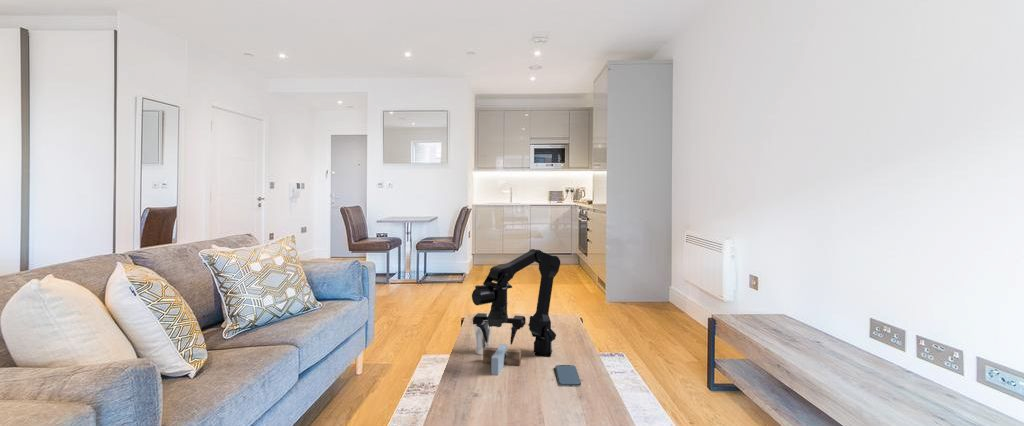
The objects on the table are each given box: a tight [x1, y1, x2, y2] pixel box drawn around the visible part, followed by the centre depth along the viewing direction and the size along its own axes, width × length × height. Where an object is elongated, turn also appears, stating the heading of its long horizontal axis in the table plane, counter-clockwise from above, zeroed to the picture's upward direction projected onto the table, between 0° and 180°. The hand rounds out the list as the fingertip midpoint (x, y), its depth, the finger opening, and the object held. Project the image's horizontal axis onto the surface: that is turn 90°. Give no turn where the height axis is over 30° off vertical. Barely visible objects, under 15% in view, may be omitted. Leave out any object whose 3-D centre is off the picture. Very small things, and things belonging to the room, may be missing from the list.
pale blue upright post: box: [490, 343, 508, 376], centre depth 156 cm, size 2×14×6 cm, turn 168°
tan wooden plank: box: [482, 347, 522, 367], centre depth 160 cm, size 14×2×5 cm, turn 78°
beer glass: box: [473, 312, 493, 356], centre depth 171 cm, size 7×7×15 cm
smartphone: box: [554, 364, 582, 387], centre depth 148 cm, size 8×2×15 cm
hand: (499, 343), depth 156 cm, fingers open, 9 cm apart
